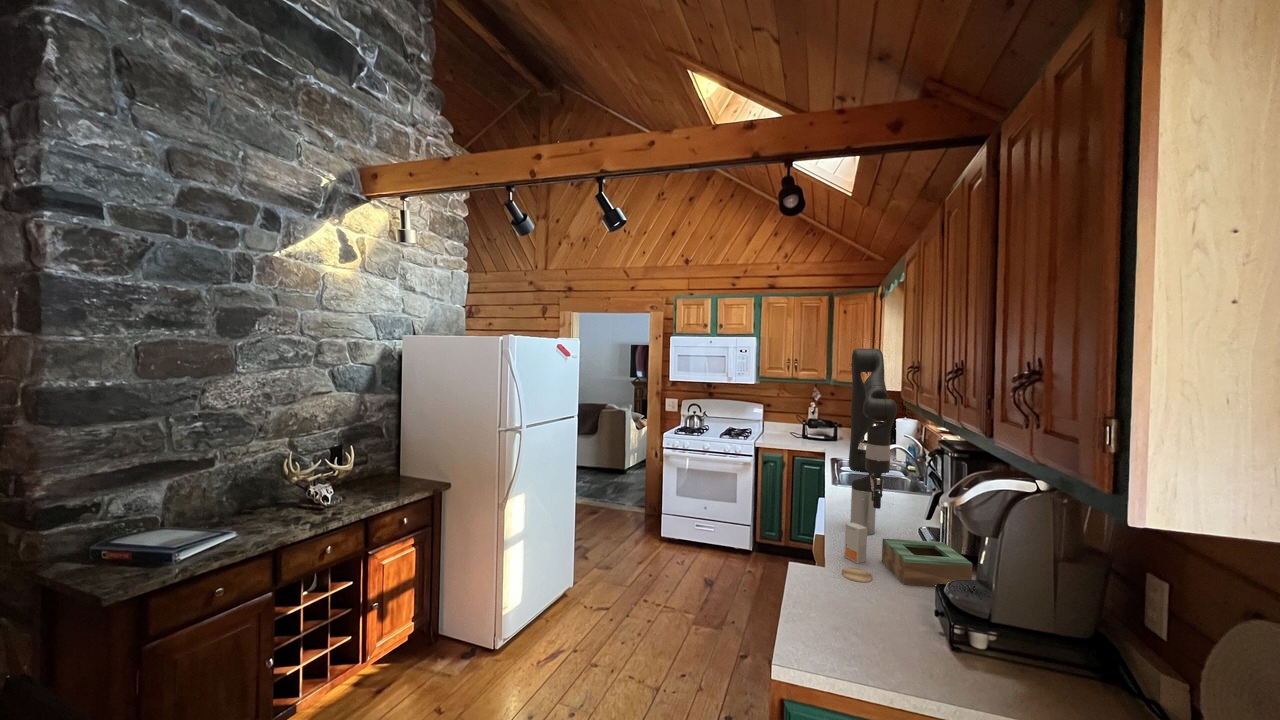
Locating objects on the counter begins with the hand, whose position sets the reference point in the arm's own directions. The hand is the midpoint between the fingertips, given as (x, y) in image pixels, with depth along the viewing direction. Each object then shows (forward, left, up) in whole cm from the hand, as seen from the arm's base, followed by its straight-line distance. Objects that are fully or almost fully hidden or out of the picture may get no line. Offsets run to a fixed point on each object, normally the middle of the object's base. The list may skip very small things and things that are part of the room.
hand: (875, 504), depth 173 cm
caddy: (+5, +14, -21) cm, 26 cm away
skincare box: (-4, -5, -21) cm, 22 cm away
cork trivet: (+10, -9, -21) cm, 25 cm away
